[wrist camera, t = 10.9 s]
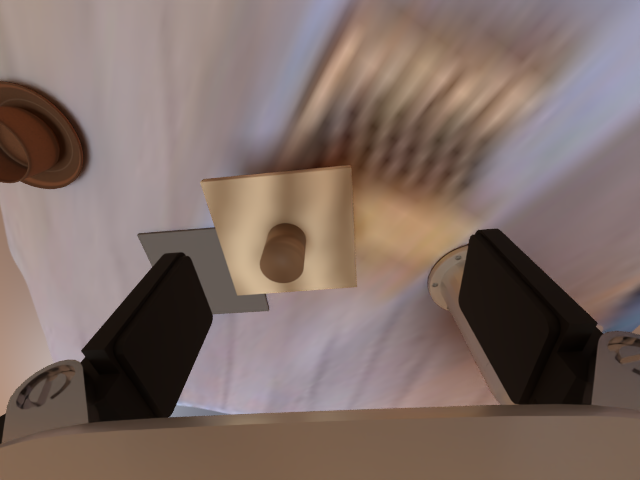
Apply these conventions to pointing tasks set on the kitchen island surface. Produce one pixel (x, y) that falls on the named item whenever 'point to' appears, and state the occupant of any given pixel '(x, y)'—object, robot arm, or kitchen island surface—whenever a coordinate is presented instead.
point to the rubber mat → (204, 267)
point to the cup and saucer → (36, 140)
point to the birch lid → (286, 229)
